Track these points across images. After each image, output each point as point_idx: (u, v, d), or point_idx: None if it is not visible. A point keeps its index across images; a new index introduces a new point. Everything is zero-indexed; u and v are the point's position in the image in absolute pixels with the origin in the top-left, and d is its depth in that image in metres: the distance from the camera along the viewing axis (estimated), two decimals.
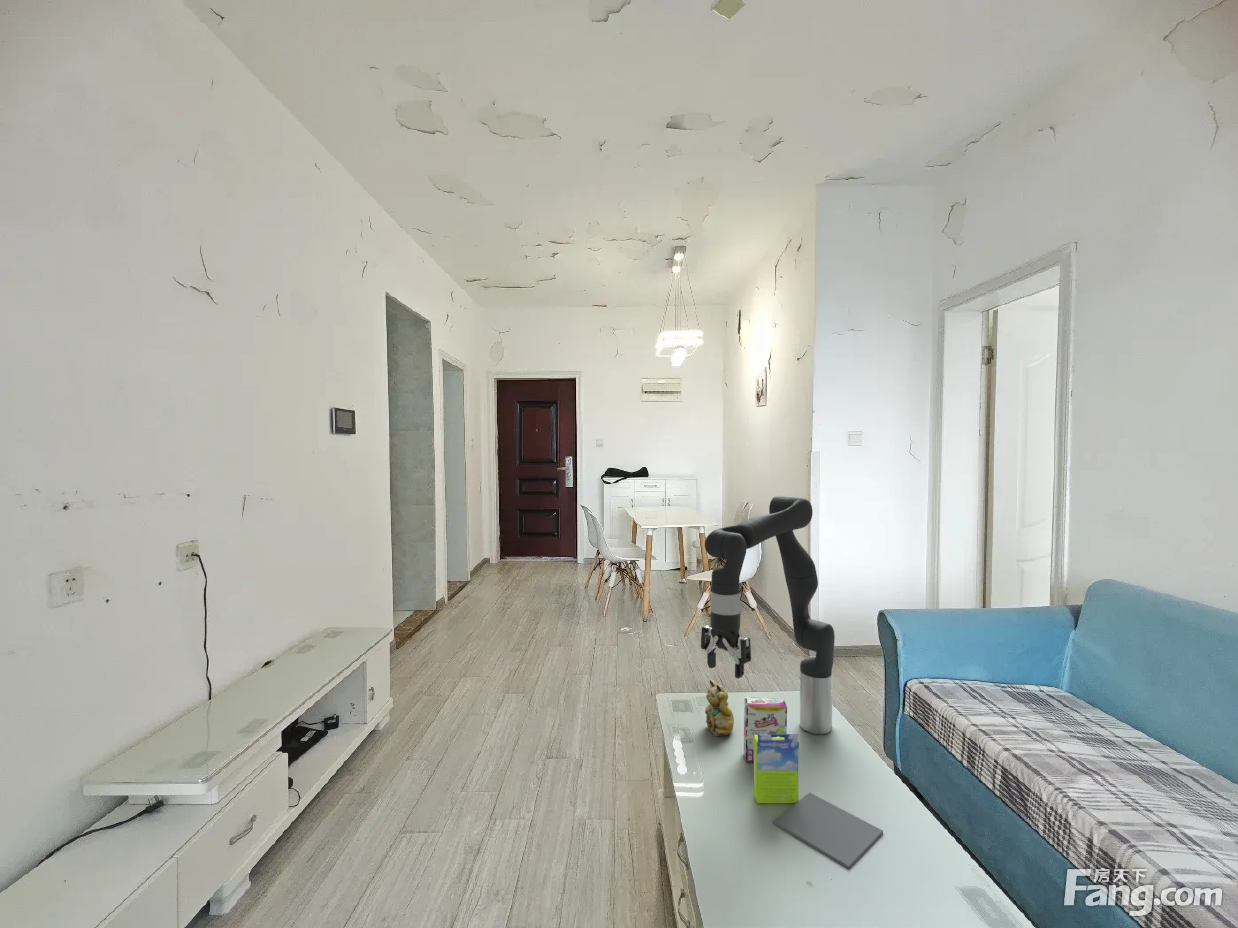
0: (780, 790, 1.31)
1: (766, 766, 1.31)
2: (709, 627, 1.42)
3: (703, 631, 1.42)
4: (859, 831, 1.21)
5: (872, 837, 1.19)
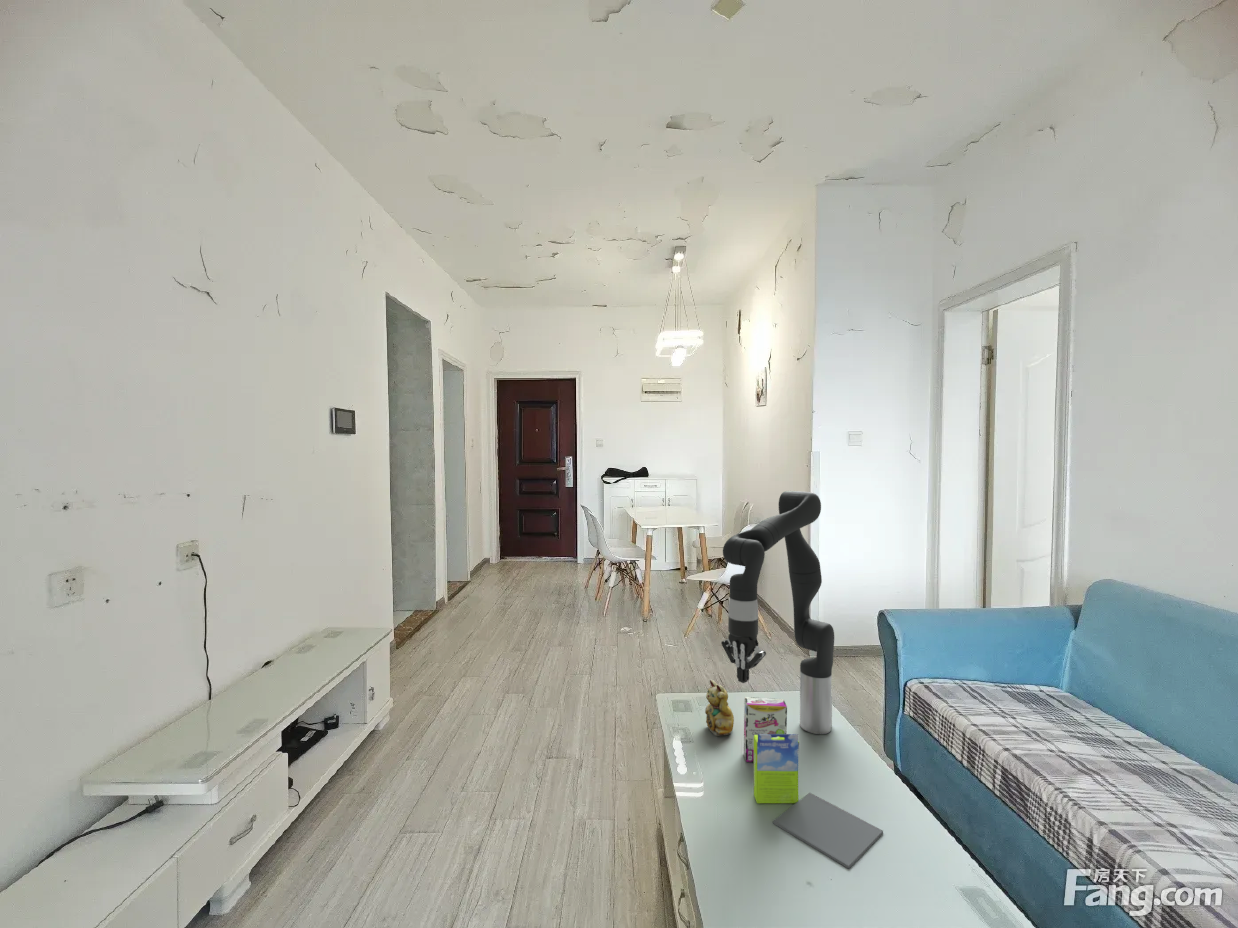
0: (780, 790, 1.31)
1: (766, 766, 1.31)
2: (727, 639, 1.44)
3: (724, 645, 1.43)
4: (859, 831, 1.21)
5: (872, 837, 1.19)
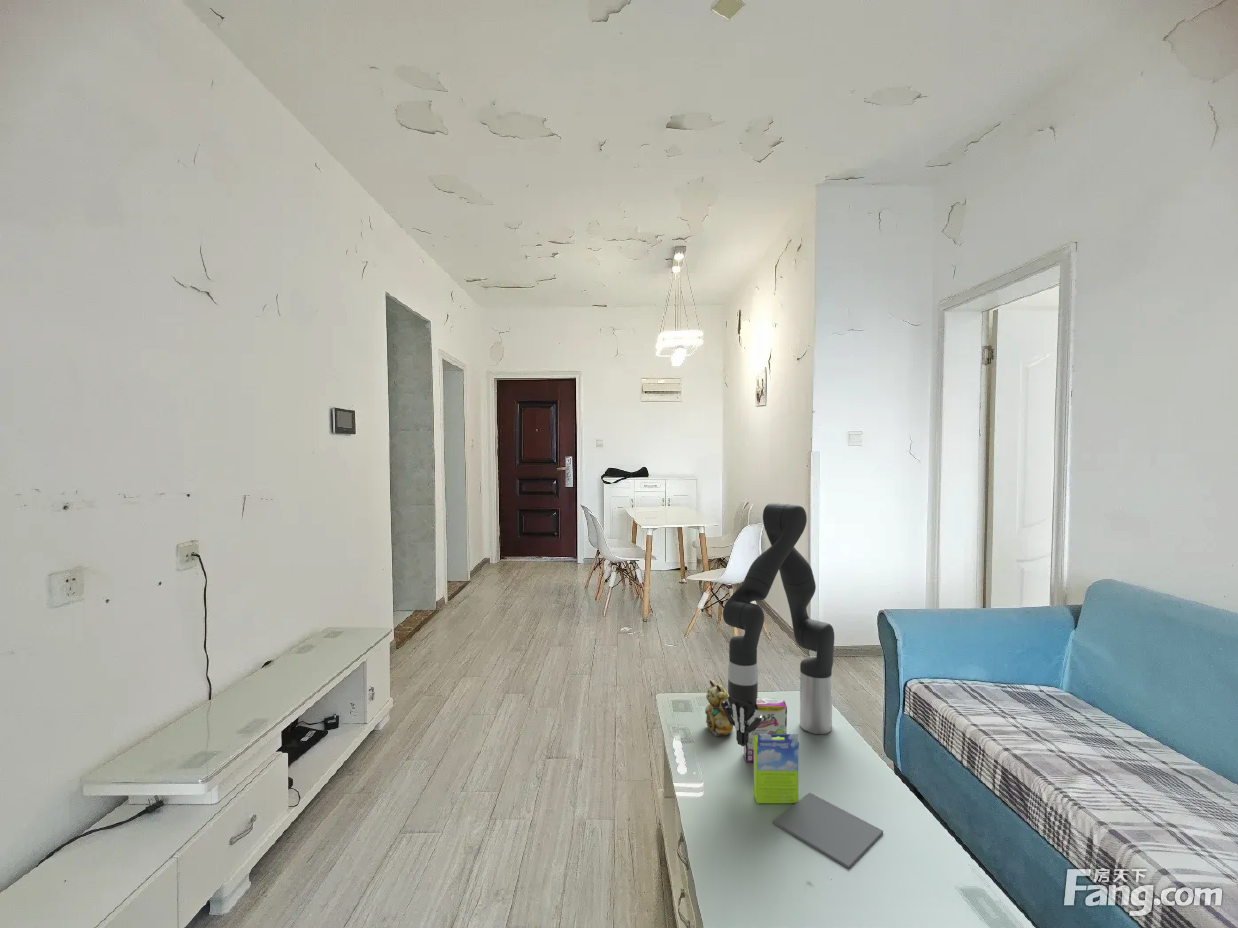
0: (780, 790, 1.31)
1: (766, 766, 1.31)
2: (727, 700, 1.44)
3: (723, 706, 1.44)
4: (859, 831, 1.21)
5: (872, 837, 1.19)
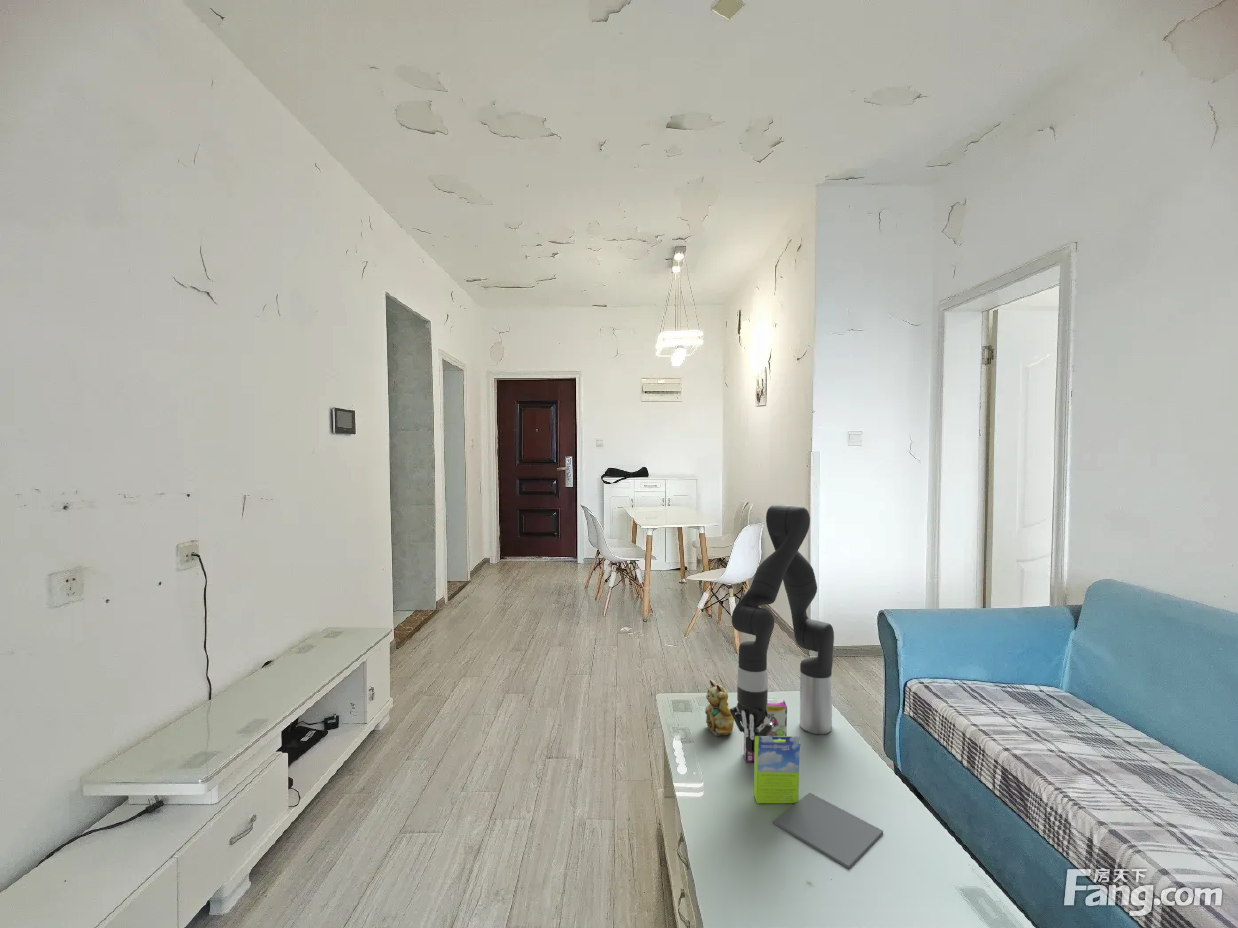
0: (781, 790, 1.31)
1: (766, 767, 1.31)
2: (736, 706, 1.42)
3: (732, 713, 1.41)
4: (859, 831, 1.21)
5: (872, 837, 1.19)
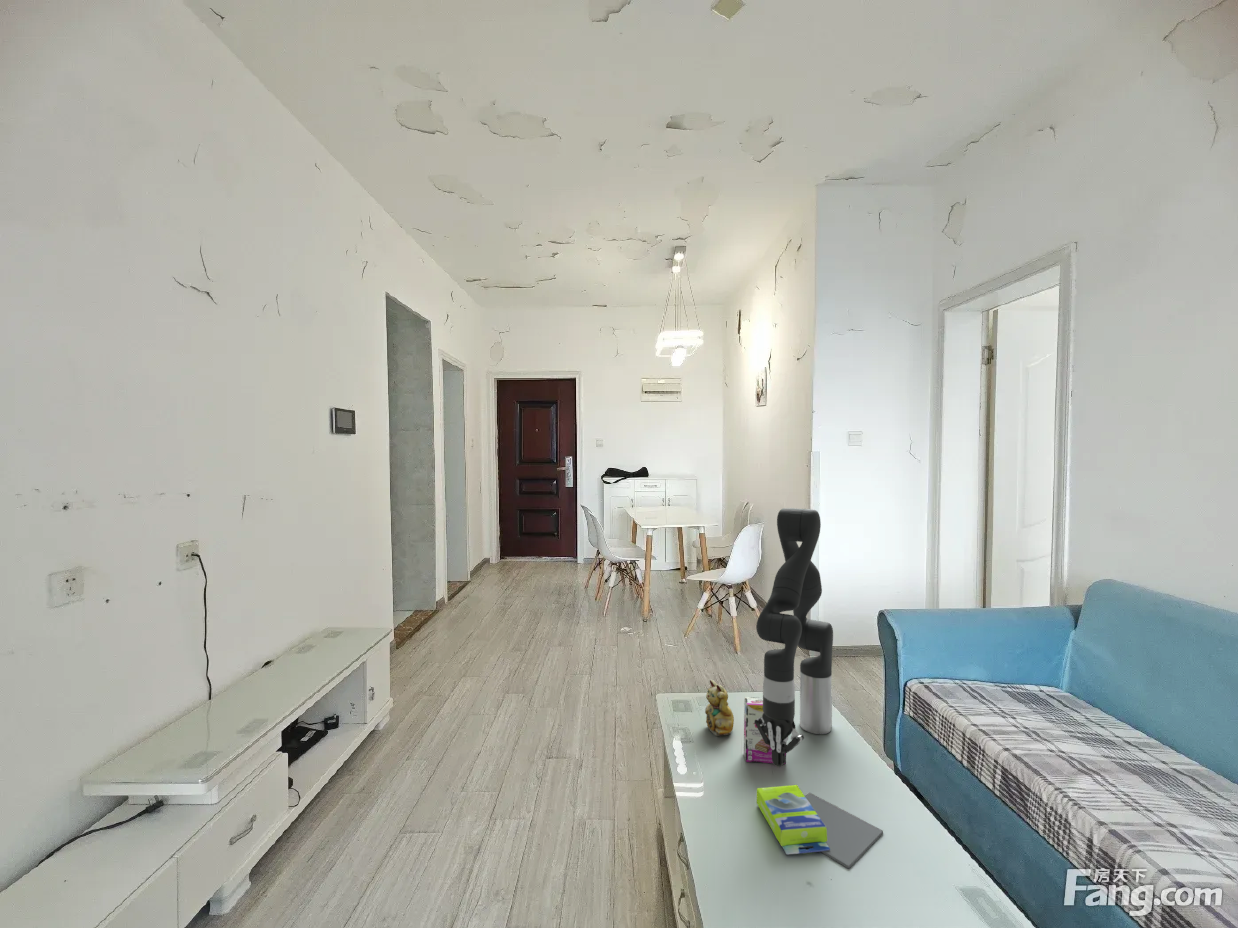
0: None
1: None
2: (761, 717, 1.36)
3: (757, 724, 1.35)
4: (859, 831, 1.21)
5: (872, 837, 1.19)
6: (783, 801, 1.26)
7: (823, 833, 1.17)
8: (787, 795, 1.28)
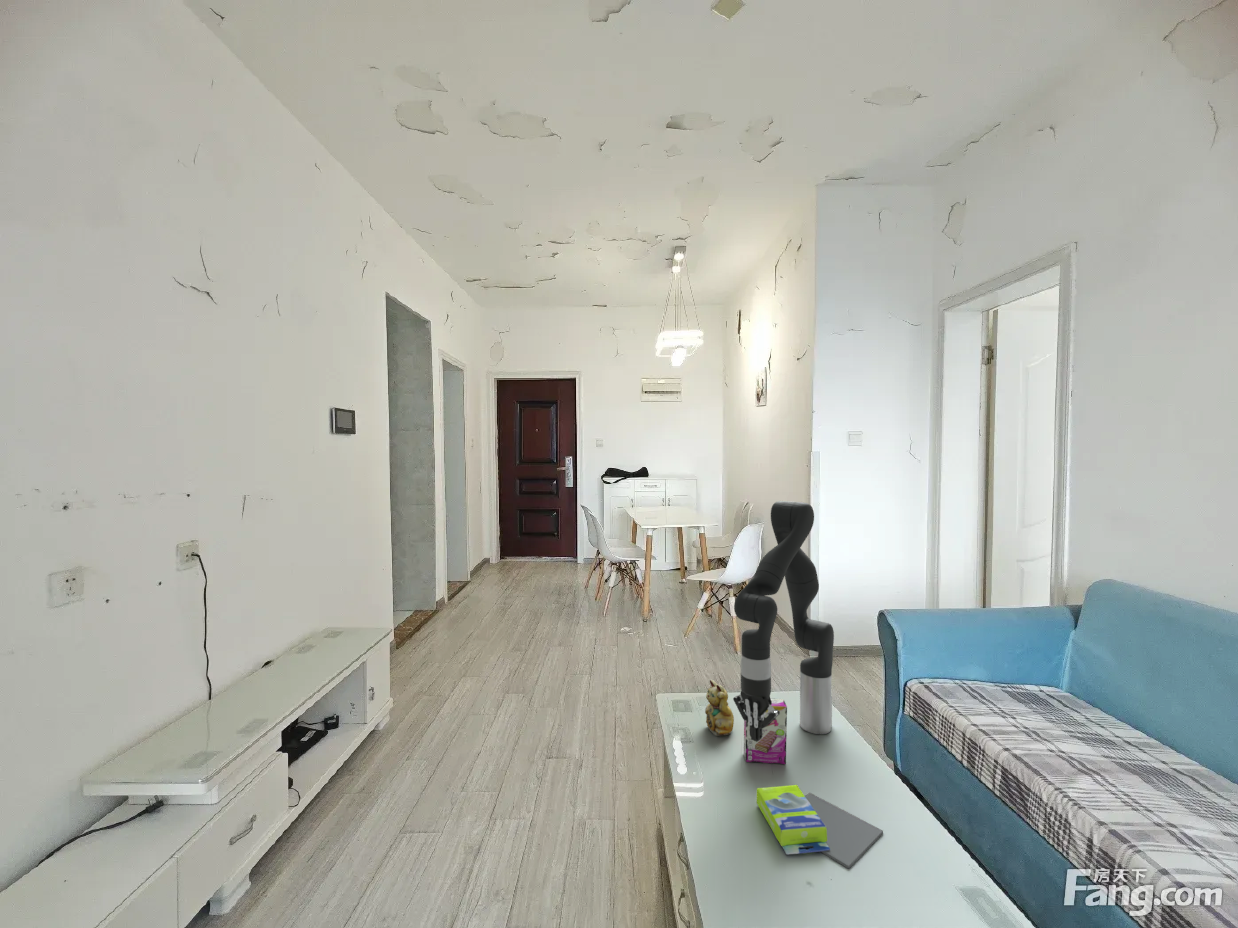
0: None
1: None
2: (739, 695, 1.41)
3: (736, 701, 1.40)
4: (859, 831, 1.21)
5: (872, 837, 1.19)
6: (783, 801, 1.26)
7: (823, 833, 1.17)
8: (787, 795, 1.28)
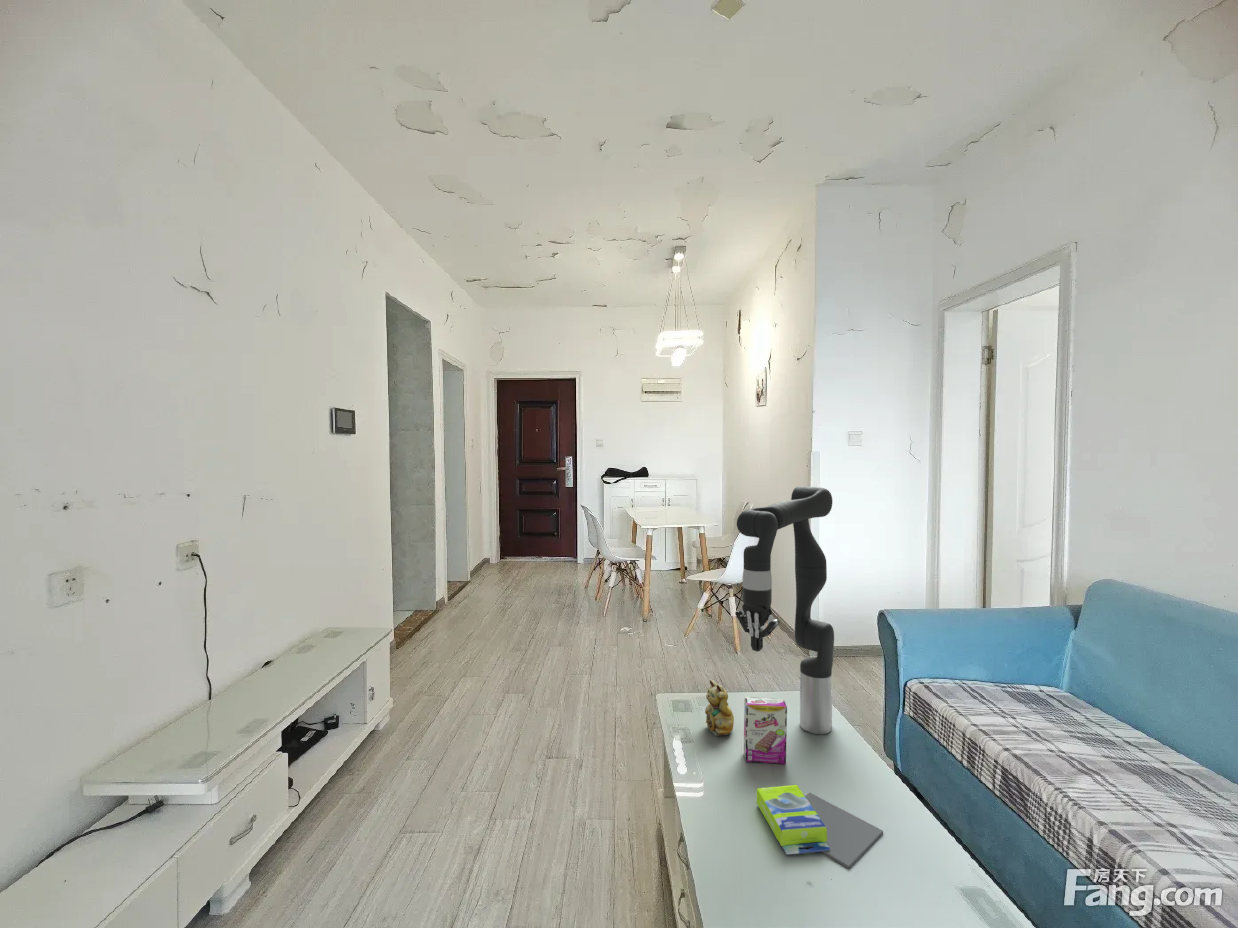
0: None
1: None
2: (741, 609, 1.48)
3: (738, 615, 1.47)
4: (859, 831, 1.21)
5: (872, 837, 1.19)
6: (783, 801, 1.26)
7: (823, 833, 1.17)
8: (787, 795, 1.28)
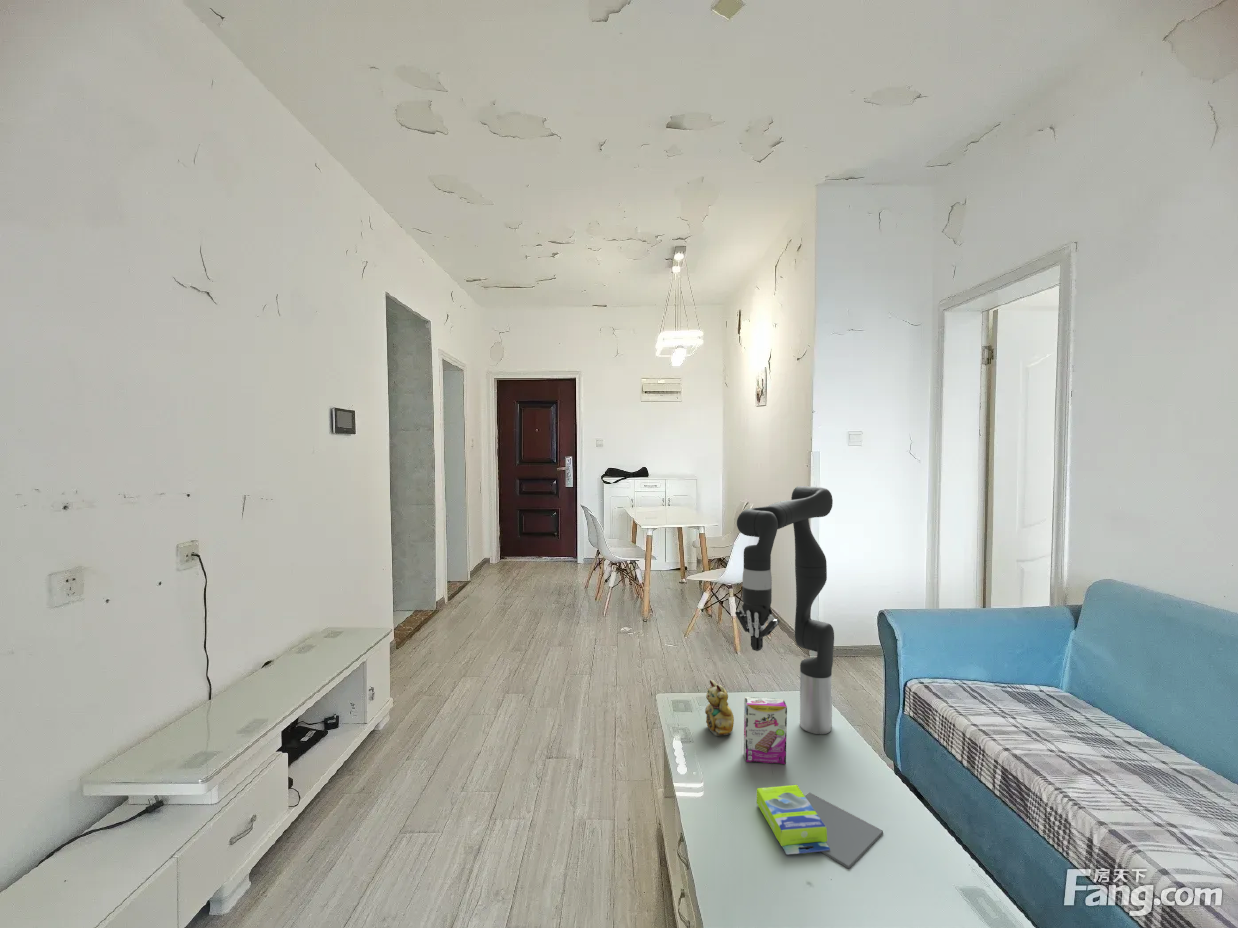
0: None
1: None
2: (741, 609, 1.48)
3: (738, 615, 1.47)
4: (859, 831, 1.21)
5: (872, 837, 1.19)
6: (783, 801, 1.26)
7: (823, 833, 1.17)
8: (787, 795, 1.28)
